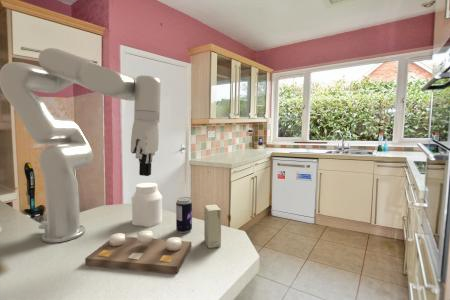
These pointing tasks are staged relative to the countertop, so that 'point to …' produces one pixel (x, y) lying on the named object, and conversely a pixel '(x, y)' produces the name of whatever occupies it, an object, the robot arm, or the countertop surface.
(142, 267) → the button board
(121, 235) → the button left
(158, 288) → the countertop surface
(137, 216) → the jar
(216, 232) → the skincare box
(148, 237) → the button middle
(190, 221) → the beverage can
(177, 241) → the button right
